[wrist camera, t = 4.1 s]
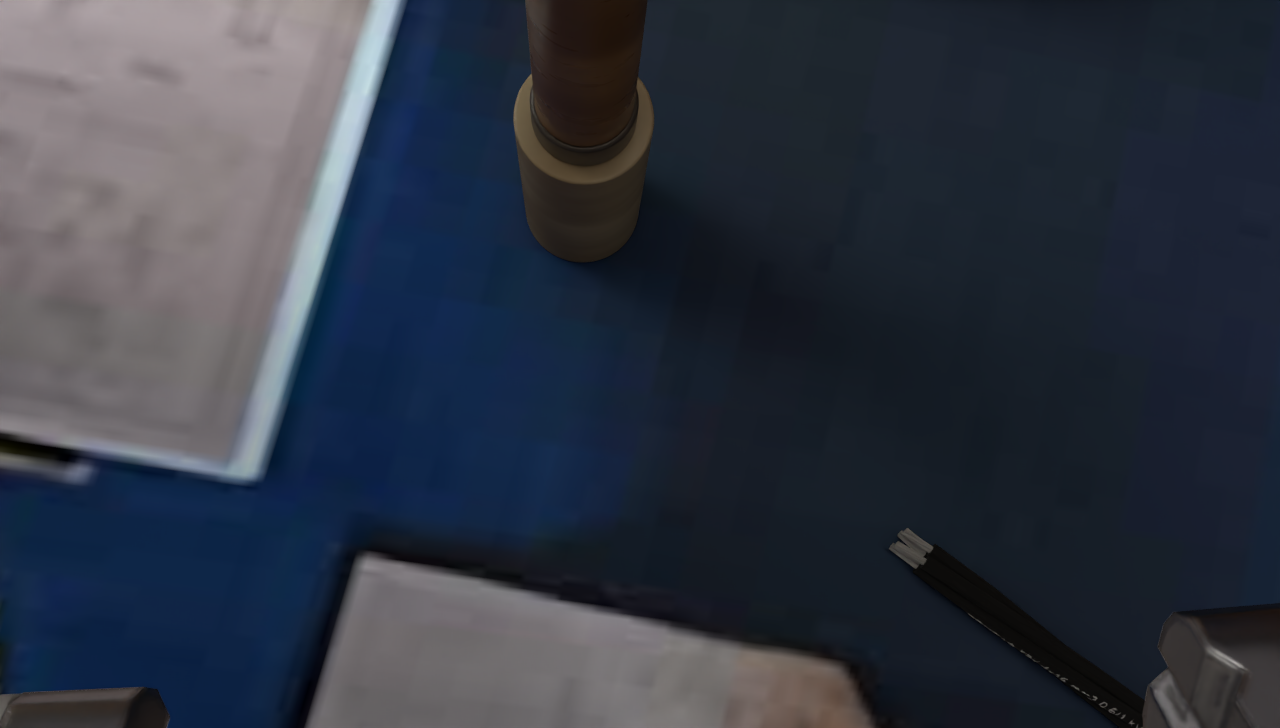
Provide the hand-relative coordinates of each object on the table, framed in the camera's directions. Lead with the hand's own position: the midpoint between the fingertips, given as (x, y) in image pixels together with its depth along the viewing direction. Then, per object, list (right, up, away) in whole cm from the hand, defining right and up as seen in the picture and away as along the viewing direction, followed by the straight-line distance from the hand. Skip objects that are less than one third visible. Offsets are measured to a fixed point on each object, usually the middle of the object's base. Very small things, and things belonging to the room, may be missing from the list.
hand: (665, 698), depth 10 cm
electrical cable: (+12, -6, +23) cm, 27 cm away
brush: (-2, +7, +24) cm, 26 cm away
